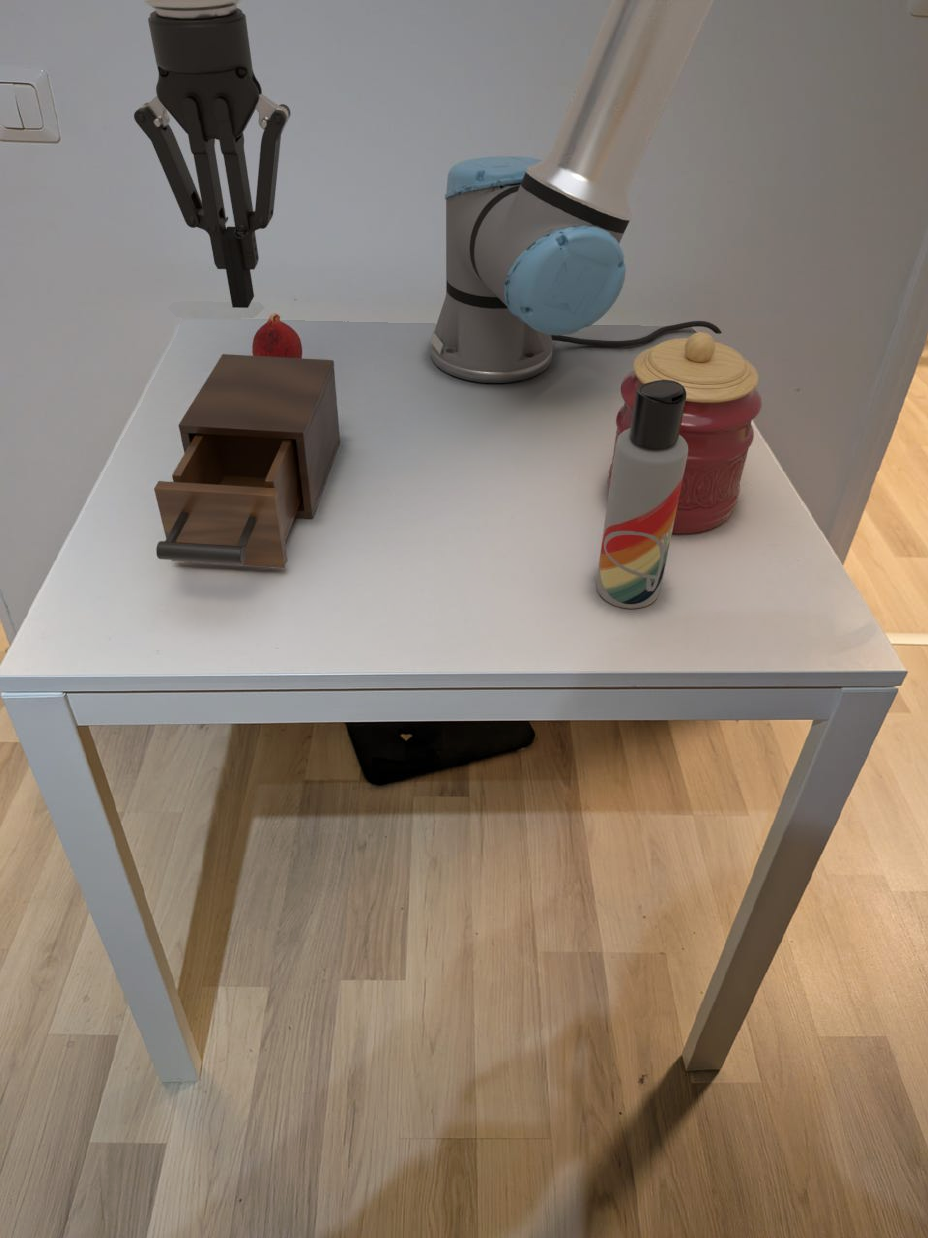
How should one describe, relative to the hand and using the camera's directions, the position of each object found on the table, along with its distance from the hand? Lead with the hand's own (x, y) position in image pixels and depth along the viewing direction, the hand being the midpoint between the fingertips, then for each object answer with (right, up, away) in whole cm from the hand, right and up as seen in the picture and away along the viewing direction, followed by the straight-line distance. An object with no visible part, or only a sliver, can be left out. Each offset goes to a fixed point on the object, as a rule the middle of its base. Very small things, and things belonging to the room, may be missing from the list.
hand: (243, 301), depth 88 cm
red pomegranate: (-1, -1, +24) cm, 24 cm away
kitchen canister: (+42, -18, +6) cm, 46 cm away
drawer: (0, -23, -2) cm, 23 cm away
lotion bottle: (+36, -28, -5) cm, 45 cm away
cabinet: (+1, -15, +8) cm, 17 cm away
